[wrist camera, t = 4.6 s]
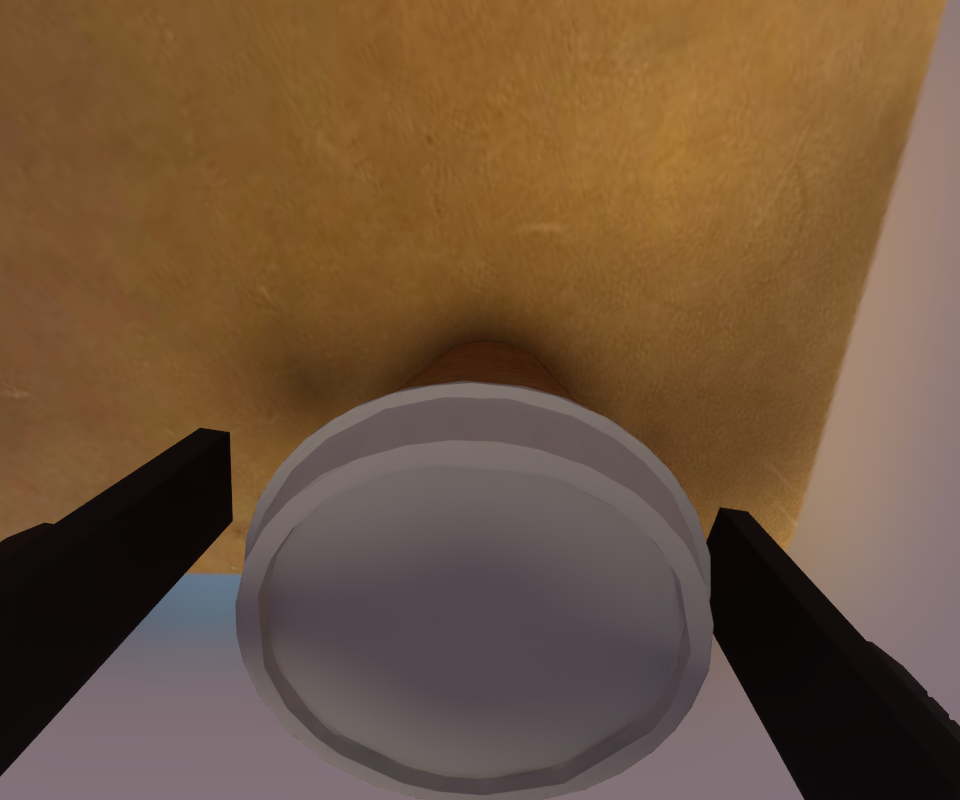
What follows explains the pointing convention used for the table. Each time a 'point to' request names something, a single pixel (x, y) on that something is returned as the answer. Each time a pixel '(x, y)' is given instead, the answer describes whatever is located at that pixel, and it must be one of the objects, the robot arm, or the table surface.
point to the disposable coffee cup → (476, 588)
